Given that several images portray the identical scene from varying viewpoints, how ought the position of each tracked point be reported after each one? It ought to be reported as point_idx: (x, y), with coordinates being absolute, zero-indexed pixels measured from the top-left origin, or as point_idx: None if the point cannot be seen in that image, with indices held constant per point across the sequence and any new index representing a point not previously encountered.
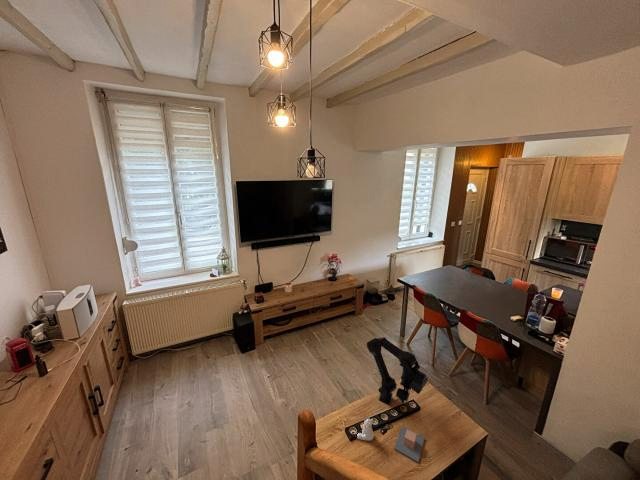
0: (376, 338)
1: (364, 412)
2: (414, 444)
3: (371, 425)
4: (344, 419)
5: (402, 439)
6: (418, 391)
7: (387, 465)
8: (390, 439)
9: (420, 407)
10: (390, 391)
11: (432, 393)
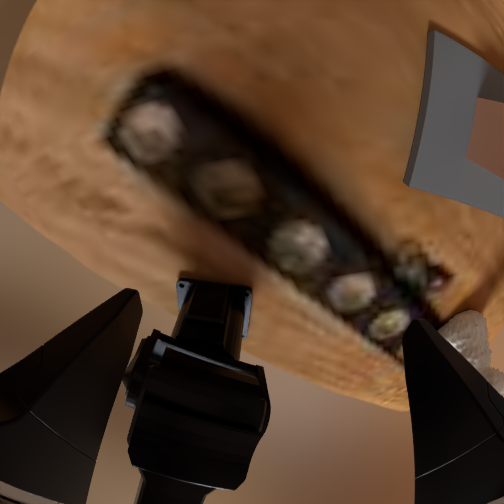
0: None
1: (351, 364)
2: None
3: (501, 376)
4: (393, 391)
5: (484, 181)
6: None
7: None
8: (474, 239)
9: (144, 69)
10: (254, 411)
11: (16, 61)
